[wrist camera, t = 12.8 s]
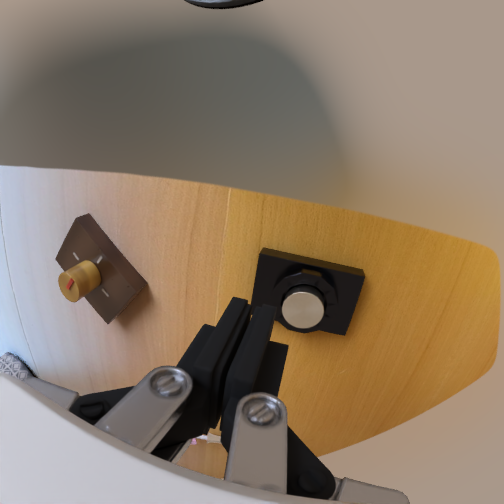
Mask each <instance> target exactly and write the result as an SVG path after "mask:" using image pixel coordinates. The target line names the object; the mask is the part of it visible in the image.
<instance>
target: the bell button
mask: <svg viewBox="0 0 504 504" xmlns="http://www.w3.org/2000/svg"><path fill="white" fill-rule="evenodd" d="M282 313H283V316H284V318H285V320H286V321H287V322H288V323H289V324H291V325H292V326H294V327H297V328H310V327H312V326H314V325H316V324H317V323H318V322H320V320H321V319H322V317H323V314H324V299H323V296H322V294H321V293H320V292H319V291H318V290H317V289H316V288H314V287H312V286H308V285H299V286H296V287H294V288H292V289H291V290H289V291H288V293H287V294H286V296H285V299H284V302H283V306H282Z"/></svg>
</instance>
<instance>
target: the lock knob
mask: <svg viewBox="0 0 504 504" xmlns="http://www.w3.org/2000/svg"><path fill="white" fill-rule="evenodd" d="M58 282H59V287H60V290H61V292H62V294H63V295H64V296H65V297H66V299H68V300H69V301H71V302H77V301H78V300H80V299H81V298H82V297H84V296H85V295H87V294H88V293H90V292H91V291H93V290H94V289H96V288H97V287H98V286H99V285H100V283H101V276H100V272H99V270H98V268H97V267H96V266H95V264H93V263H92V262H91V261H87V260H86V261H83V262H81V263H79V264H77V265H76V266H74V267H72V268H70V269H68V270H67V271H65V272H63V273H61V274H60V276H59V279H58Z"/></svg>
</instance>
